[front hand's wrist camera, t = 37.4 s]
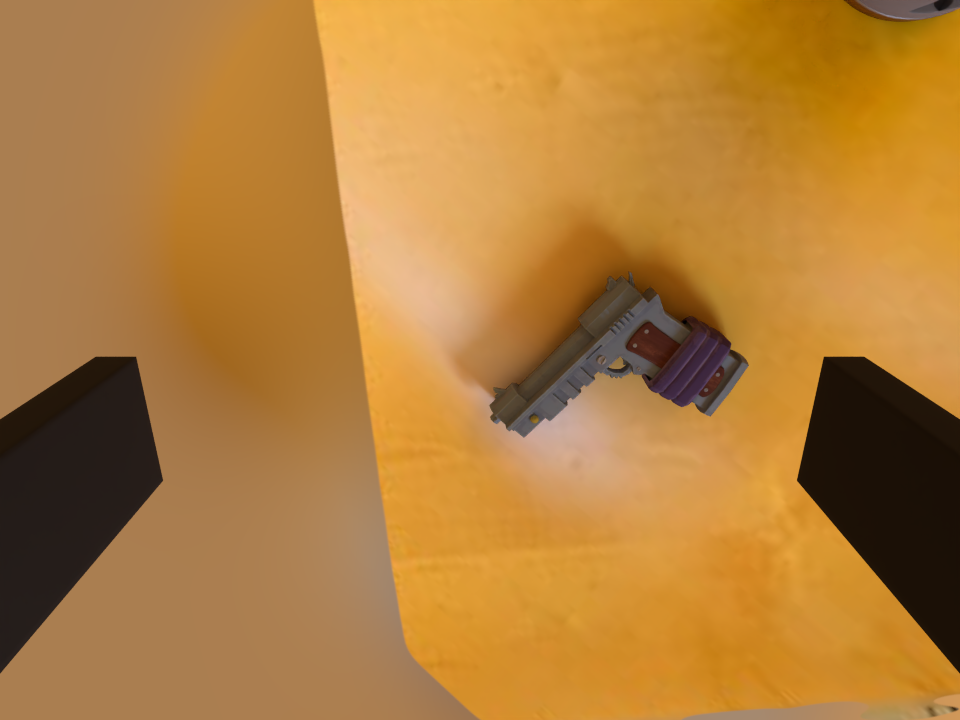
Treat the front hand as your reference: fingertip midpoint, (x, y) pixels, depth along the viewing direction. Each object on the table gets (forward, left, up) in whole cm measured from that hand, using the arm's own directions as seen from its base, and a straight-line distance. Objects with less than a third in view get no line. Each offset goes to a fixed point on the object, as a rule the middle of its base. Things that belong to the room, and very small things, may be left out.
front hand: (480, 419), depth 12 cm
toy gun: (+19, -7, -41) cm, 45 cm away
